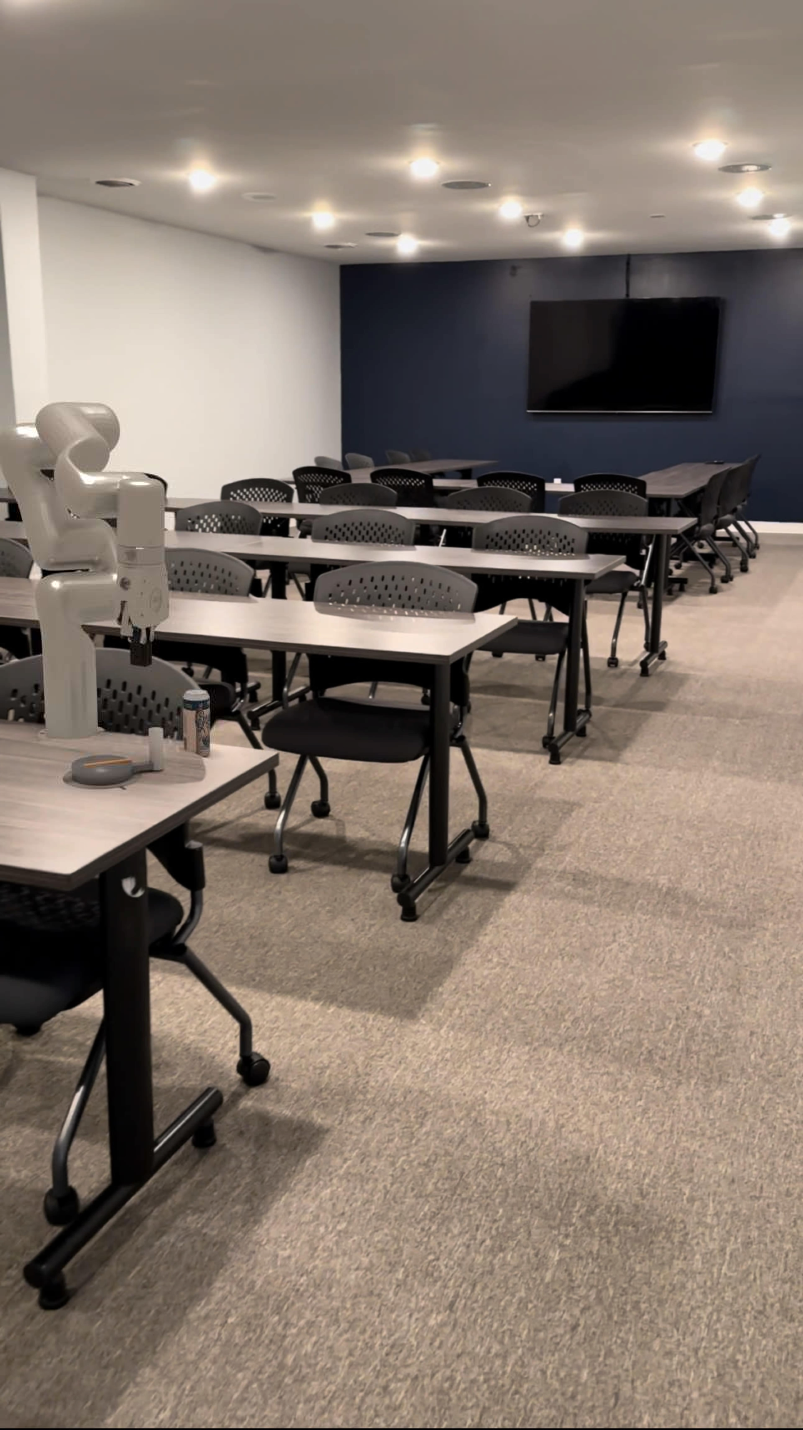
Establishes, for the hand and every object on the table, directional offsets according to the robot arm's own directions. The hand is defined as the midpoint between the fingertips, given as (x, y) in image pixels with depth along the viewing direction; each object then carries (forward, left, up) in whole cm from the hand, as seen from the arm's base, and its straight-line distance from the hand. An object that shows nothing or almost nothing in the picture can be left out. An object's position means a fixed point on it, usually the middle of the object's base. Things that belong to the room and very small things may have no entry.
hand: (141, 664), depth 203 cm
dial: (-2, -4, -19) cm, 19 cm away
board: (-2, -5, -21) cm, 21 cm away
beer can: (-8, +16, -21) cm, 27 cm away
